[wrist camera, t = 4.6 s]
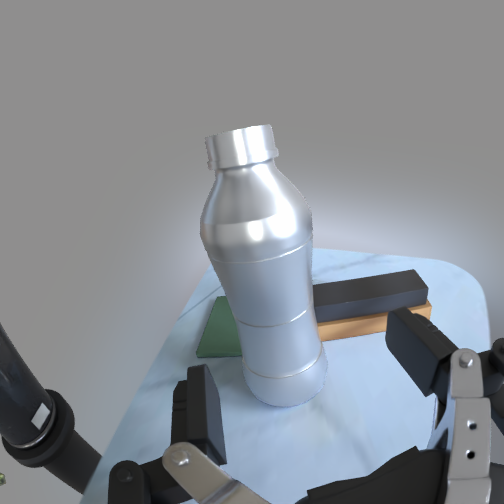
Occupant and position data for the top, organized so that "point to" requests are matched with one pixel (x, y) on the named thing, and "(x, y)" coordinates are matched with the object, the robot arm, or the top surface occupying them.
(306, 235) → the silver metal bottle
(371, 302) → the grey and wooden block
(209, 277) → the top surface
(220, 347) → the drying mat
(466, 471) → the robot arm
